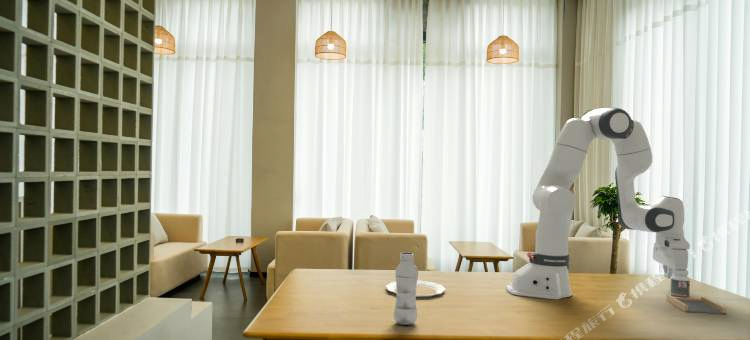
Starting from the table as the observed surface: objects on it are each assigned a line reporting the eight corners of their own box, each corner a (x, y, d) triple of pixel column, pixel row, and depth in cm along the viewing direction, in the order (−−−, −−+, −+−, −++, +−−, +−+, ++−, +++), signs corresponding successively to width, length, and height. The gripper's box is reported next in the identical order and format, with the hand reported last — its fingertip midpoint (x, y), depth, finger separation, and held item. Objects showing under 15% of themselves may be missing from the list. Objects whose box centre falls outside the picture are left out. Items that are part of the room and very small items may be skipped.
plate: (374, 289, 172) (374, 284, 172) (417, 281, 185) (417, 277, 185) (412, 303, 156) (412, 298, 156) (457, 294, 168) (457, 289, 168)
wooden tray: (684, 311, 151) (684, 305, 151) (665, 299, 165) (665, 294, 165) (725, 314, 149) (726, 308, 149) (703, 302, 163) (703, 296, 163)
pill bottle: (692, 301, 164) (693, 272, 164) (674, 299, 165) (674, 271, 165) (685, 296, 169) (685, 268, 169) (667, 295, 171) (668, 267, 170)
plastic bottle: (392, 320, 138) (393, 251, 137) (415, 320, 138) (416, 251, 138) (395, 327, 131) (396, 255, 131) (419, 327, 132) (420, 255, 132)
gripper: (648, 235, 187) (647, 271, 187) (672, 244, 166) (671, 283, 167) (666, 236, 186) (665, 272, 186) (692, 245, 165) (691, 284, 166)
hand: (668, 277), depth 176 cm, fingers closed
